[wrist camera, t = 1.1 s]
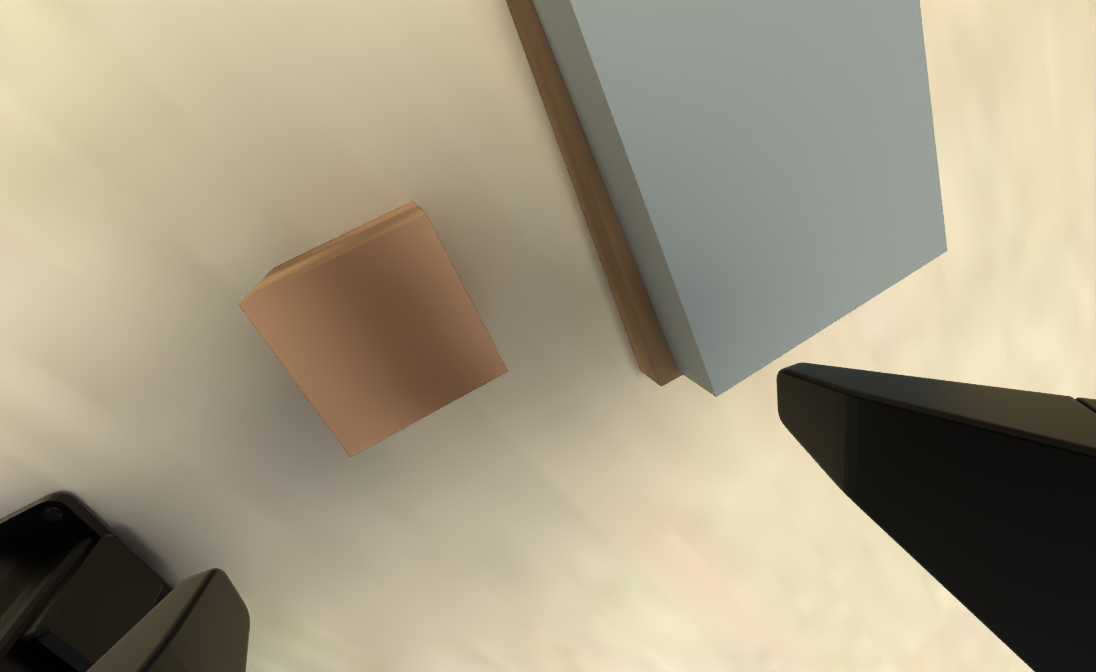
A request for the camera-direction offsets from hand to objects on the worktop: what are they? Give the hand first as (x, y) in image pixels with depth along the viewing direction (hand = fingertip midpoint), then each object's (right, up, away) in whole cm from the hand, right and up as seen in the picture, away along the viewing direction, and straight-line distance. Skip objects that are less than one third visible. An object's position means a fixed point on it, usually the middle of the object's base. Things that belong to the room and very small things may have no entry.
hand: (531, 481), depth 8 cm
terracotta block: (-6, +4, +10) cm, 12 cm away
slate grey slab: (+7, +10, +10) cm, 16 cm away
